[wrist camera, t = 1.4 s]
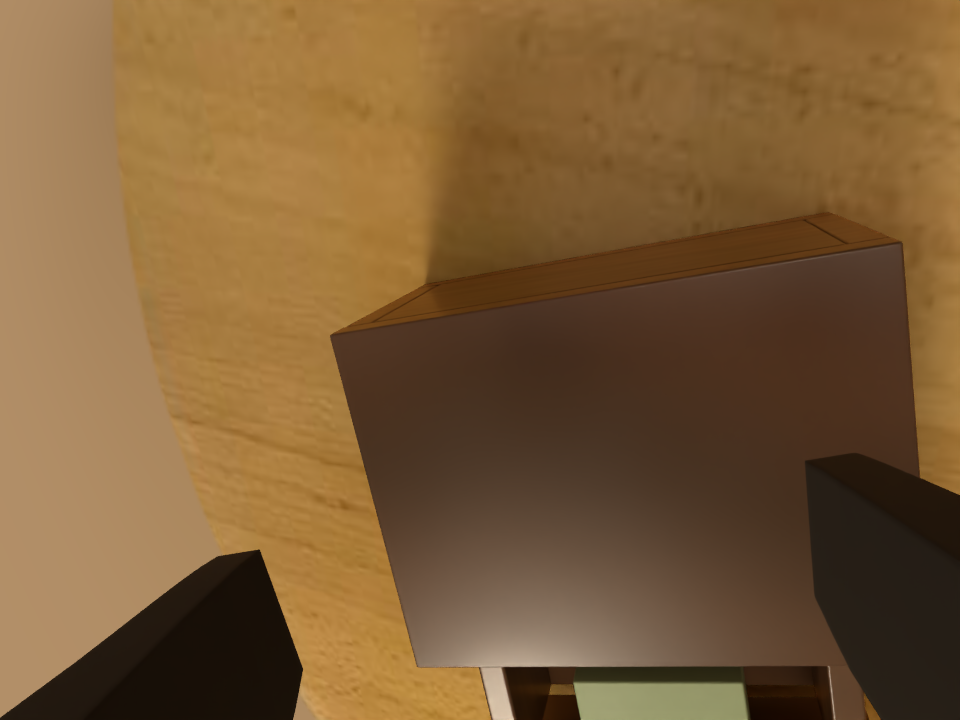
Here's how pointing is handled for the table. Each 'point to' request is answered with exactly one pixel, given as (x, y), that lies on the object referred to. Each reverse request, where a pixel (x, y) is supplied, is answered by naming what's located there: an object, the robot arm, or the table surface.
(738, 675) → the box
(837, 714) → the drawer
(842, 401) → the cabinet
